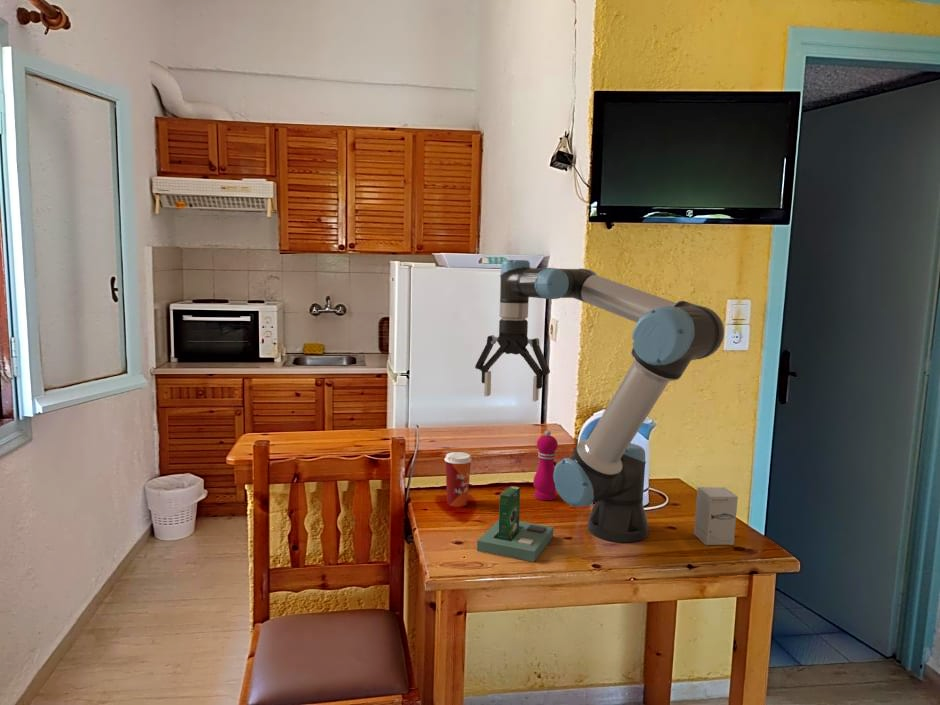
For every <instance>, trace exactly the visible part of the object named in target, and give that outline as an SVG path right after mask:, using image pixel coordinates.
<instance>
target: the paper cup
mask: <svg viewBox="0 0 940 705" xmlns="http://www.w3.org/2000/svg"><path fill="white" fill-rule="evenodd" d="M444 461H445V478H446V479H445V482H446V502H447V505H448V506H451V507H455V508H461V507H465V506H467V504H468V497H469V487H470V477H471V475H470V474H471V462H472V461H473V459H472V457H471V455H470V454H469V453H467V452H462V451H461V452H460V451H456V452H455V451H454V452H453V451H452V452H448V453H446V454H445V457H444Z"/></svg>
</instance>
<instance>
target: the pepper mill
mask: <svg viewBox="0 0 940 705" xmlns="http://www.w3.org/2000/svg"><path fill="white" fill-rule="evenodd" d="M551 434H552V433H551V431H550V430H545V431H544V435H542V436H540V437H538V439H537V441H536V449H538V452H537V454H538V455H537V456H538V458H539V463H538V467H537V471H536V472H535V474H534V477H533V480H532V481H533V482H532V484H533V487H534V488H535V490H534V498H535V497H536V498H537V499H536V498H535V499H536V500H538V499H540V500H539V501H543V500H551V501H554V500H556V499H555V498H557V490H556V487H555V482H554V477H553V475H554V469H555V466H554V462H555V458H556V451H557V449H558V445H559V444H558V440H557V438H555V437H554V436H552V435H551ZM553 499H554V500H553Z"/></svg>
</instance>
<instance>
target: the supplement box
mask: <svg viewBox="0 0 940 705" xmlns="http://www.w3.org/2000/svg"><path fill="white" fill-rule="evenodd" d="M696 491H697V492H696V503H695V504H696V505H695V516H694V529H693V534H694V536H695V537H697V538H698V539H699V541H701V542H702V543H703V544H704V545H705V546H714V545H715V546H717V545H718V546H719V545H721V546H724V545H726V546H727V545H728V546H733V545H734V544H735V534H736V521H737V509H738V499H739V497H738V495H737V494H735V493H733V491H731V490H729V489H728V488H726V487H725V486H724V487H723V486H721V487H719V486H718V487H717V486H715V487H714V486H713V487H712V486H711V487H710V486H709V487H708V486H707V487H706V486H705V487H704V486H703V487H701V486H699V487H697V490H696Z"/></svg>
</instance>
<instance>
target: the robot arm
mask: <svg viewBox="0 0 940 705" xmlns="http://www.w3.org/2000/svg"><path fill="white" fill-rule="evenodd" d="M530 264H531V263H530V261H529V260H526V259H504V260H503V261H502V262H501V268H500V275H499V277H500V283H499V284H500V286H499V287H500V288H499V289H500V290H499V294H500V295H499V296H500V297H499V317H500V319H499V321H498V323H499V324H498V326H499V327H498V336H495V335H494V334H492V335H489V336H487V338H486V345H485V346H484V348H483V349H482V352H481V354H480V356H479V358H478V359H477V362H476V364H475V366H474V368H475V369H476V370H479V371H481V383H482V384H484V391H483V392H484V394H483V395H484V397H488V396H491V391H492V387H491V386H492V371H491V370H490V369H491V367H492V366H493V365H494V364H495V363H496V362H497V361H498V360H499V358H500V357H502V355H503V354H504V353H505V354H506V355H510V354H512V355H520V356H521V357H522V358H523V359H524V361H525V362H526V364H527V365H528V366H529V367H530V368H531V370H532V371H533V373H534V374H535V375H534V376H533V379H532V381H533V382H532V402H536V401H539V395H540V394H539V392H540V389H542V388H543V381H544V380H543V379H544V376H546V375H549V374H550V373H551V371H550V367H549V366H548V363H547V361H546V358H545V356H544V354H543V352H542V349H541V347H540V339H539V338H538V337H536V338H535V337H534V338H528V328H529V325H528V323H529V322H528V320H527V318H528V317H529V302H530V300H529V298H537V299H545V300H558V299H575V300H578V301H580V302H583V303H587V304H589V305H591V306H594V307H597V308H598V309H602V310H604V311H607V312H609V313H611V314H614V315H616V316H618V317H622V318H624V319H626V320H630V321H632V322H634V323H635V326H634V327H633V331H632V337H631V339H633V342H632V349H631V351H630V354H631V358H632V360H633V362H632V364H631V365H630V366H629V369H628V370H627V372H626V374H625V375H624V377H623V379H622V381H621V383H620V384H619V386H618V387H617V389H616V391H615V392H614V394H613V396H612V398H611V399H610V401H609V403H608V405H607V406H606V408H605V410H604V411H603V413H602V414H601V417H600V419H599V420H598V422H597V423H596V425H595V427H594V429H593V430H592V432H591V434H590V435H589V437H588V438H587V439H582V440H580V441H579V442H578V443H577V445H576V446H575V448H574V450H573V452H572V453H571V455H570V456H569V457H566V458H562V459H561V460H560V461H558V462H557V463H556V465H555V466H554V475H553V477H554V482H555V487H556V489H555V491H556V493H557V494H558V495H559V497H560V498H561V499H562V500H563V501H564V502H565V503H566V504H568V505H569V506H571V507H574V508H575V507H576V508H581V507H588V506H592V505H591V504H593V503H595V504H594V506H592V509H591V512H590V513H589V517H588V520H587V530H588V531H589V532H590V533H591V534H592V535H593V536H595V537H598V538H600V539H602V540H606V541H611V542H618V543H634V542H639V541H643V540H645V539H646V538H647V537H648V536H649V522H648V519H647V515H646V512H645V508H644V490H645V488H644V486H645V475H646V474H645V470H646V464H647V461H646V450H645V449H644V448H643V447H642V446H641V445H639V444H636V443H632V442H633V439H634V438H635V437H636V435H637V433H638V432H639V430H640V428H641V427H642V425H643V424H644V423H645V420H646V419H647V417H648V416H649V414H650V412H652V409H653V408H654V406H655V404H656V403H657V401H658V400H659V398H660V396H661V395H662V393H663V392H664V390H665V389H666V387H667V386H668V385H669V384H668V383H669V382H672V381H673V382H674V381H678V380H680V378H681V377H682V376H683V374H684V372H685V371H686V369H687V368H688V366H689V364H690V363H691V362H692V361H696V360H701V359H705V358H708V357H710V356H712V355H713V354H714V353H715V352H717V351H718V350H719V348H720V347H721V346H722V343H723V341H724V338H725V327H724V323H723V320H722V318H721V317H720V316H719V315H718V313H717V312H715V311H714V310H712V309H711V308H709V307H706V306H703V305H699V304H695V303H691V302H688V301H685V300H678V301H677V302H676V301H675V302H674V301H671V300H669V299H666V298H663V297H660V296H658V295H655V294H651V293H648V292H646V291H642V290H640V289H637V288H635V287H632V286H629V285H625V284H623V283H620V282H617V281H614V280H611V279H608V278H606V277H603V276H600V275H597V273H596V272H595V271H593V270H591V269H586V268H555V267H544V268H543V267H531V266H530ZM497 343H498V345H499V347H498V348H497V350H496V351H495V353H494V354H493V355H492V356H491V357H490V358H489V359H488V357H489V355H490V353H491V351H492V349H493V347H494V345H495V344H497ZM528 345H530V347H531V348H532V351H533V353H534V355H535V357H536V360H537V362H538V363H537V362H536V360H535V359H534V358H533V356H532V355H531V354H530V351H529V350H528V349H527V346H528ZM487 359H488V360H487ZM486 360H487V361H486Z"/></svg>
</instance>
